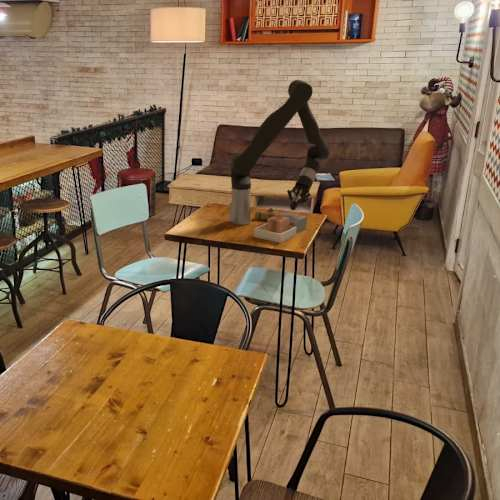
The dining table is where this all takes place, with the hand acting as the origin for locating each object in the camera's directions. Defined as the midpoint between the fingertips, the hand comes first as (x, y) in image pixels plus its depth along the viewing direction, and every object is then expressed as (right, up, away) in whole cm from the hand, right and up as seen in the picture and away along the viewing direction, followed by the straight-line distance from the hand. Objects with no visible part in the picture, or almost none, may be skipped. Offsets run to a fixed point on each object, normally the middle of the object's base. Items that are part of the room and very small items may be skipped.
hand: (292, 209), depth 223 cm
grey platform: (-1, -9, +2) cm, 10 cm away
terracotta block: (-5, -7, -5) cm, 10 cm away
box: (-8, -13, -8) cm, 17 cm away
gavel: (-10, -2, +24) cm, 26 cm away
